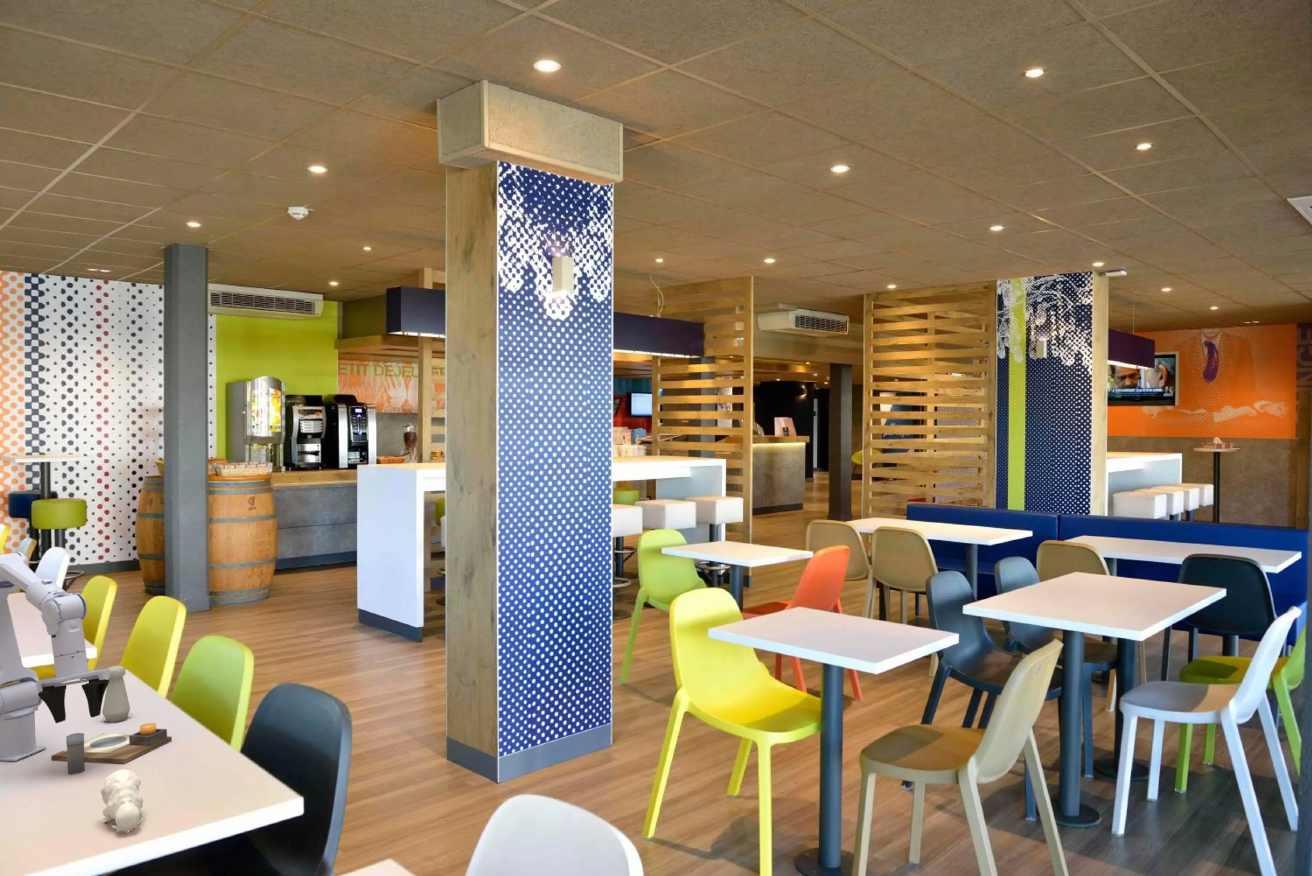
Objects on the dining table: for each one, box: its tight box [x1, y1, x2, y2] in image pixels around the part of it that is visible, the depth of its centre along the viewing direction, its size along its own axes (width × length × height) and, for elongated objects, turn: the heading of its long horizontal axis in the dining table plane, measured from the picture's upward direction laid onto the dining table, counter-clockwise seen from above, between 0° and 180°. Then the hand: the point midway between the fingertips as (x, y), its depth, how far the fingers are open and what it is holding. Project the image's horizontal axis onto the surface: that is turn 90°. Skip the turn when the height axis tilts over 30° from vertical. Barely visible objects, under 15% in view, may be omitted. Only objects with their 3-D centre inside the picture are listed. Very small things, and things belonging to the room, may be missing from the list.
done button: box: [139, 722, 157, 736], centre depth 202 cm, size 3×3×2 cm
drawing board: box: [50, 728, 173, 765], centre depth 200 cm, size 18×14×3 cm
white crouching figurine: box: [100, 769, 144, 833], centre depth 161 cm, size 6×8×12 cm
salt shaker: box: [101, 665, 131, 724], centre depth 221 cm, size 6×6×13 cm
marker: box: [65, 732, 86, 775], centre depth 188 cm, size 3×3×8 cm
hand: (78, 719), depth 188 cm, fingers open, 7 cm apart
